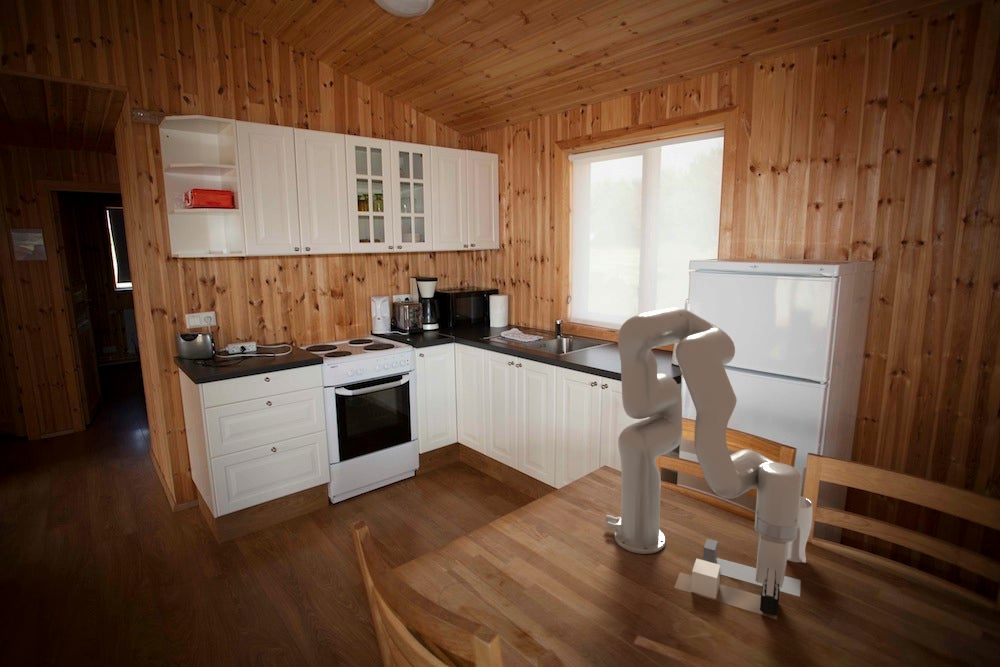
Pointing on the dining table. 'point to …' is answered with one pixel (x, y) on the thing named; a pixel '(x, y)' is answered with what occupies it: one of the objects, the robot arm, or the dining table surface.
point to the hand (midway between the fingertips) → (769, 604)
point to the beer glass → (801, 532)
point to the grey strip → (744, 570)
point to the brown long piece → (727, 595)
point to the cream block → (705, 578)
